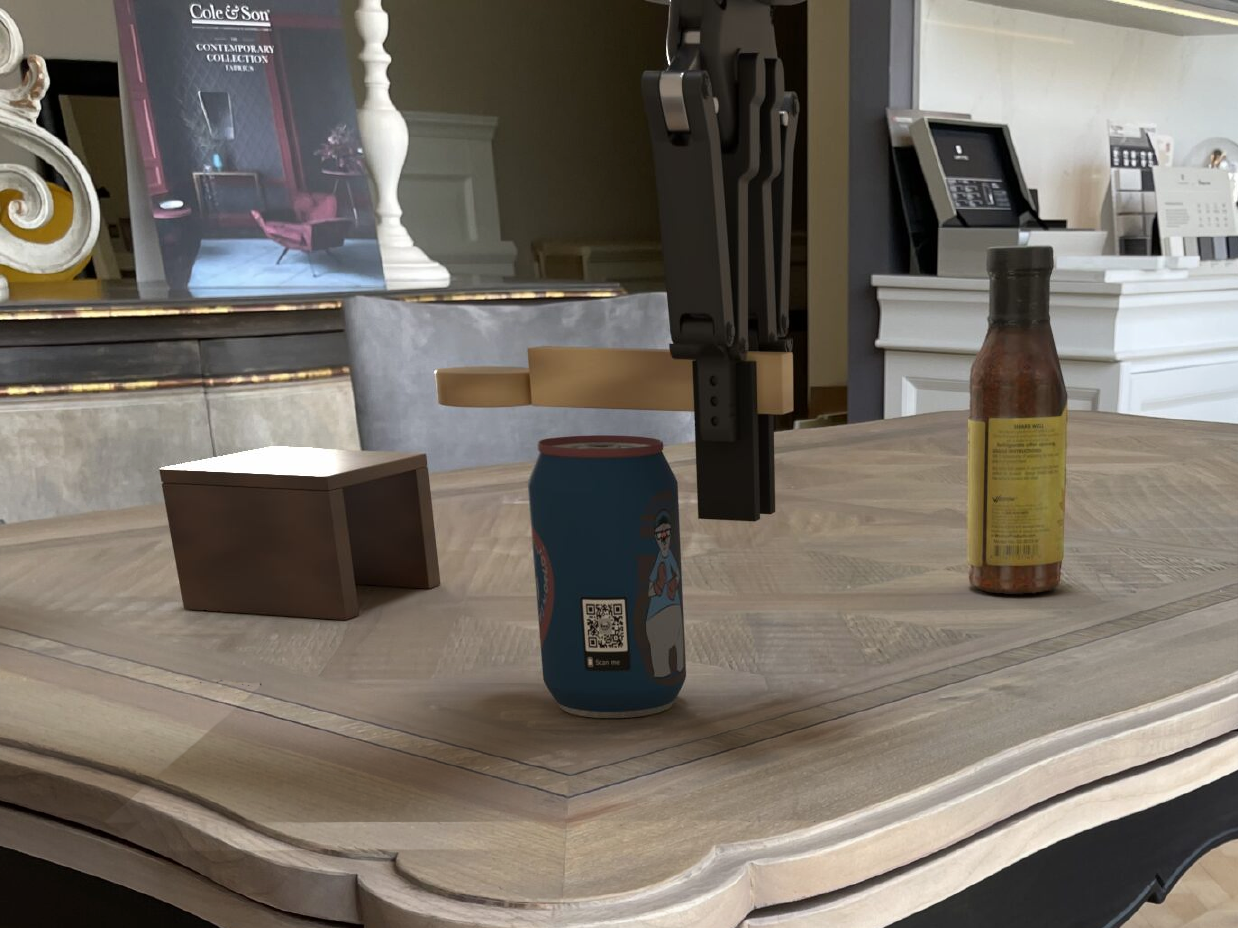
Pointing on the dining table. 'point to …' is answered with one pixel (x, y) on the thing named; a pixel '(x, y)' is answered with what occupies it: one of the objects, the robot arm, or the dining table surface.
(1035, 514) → the sauce bottle
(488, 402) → the wooden stepped block
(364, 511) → the shelf
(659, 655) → the soda can
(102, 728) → the dining table surface
